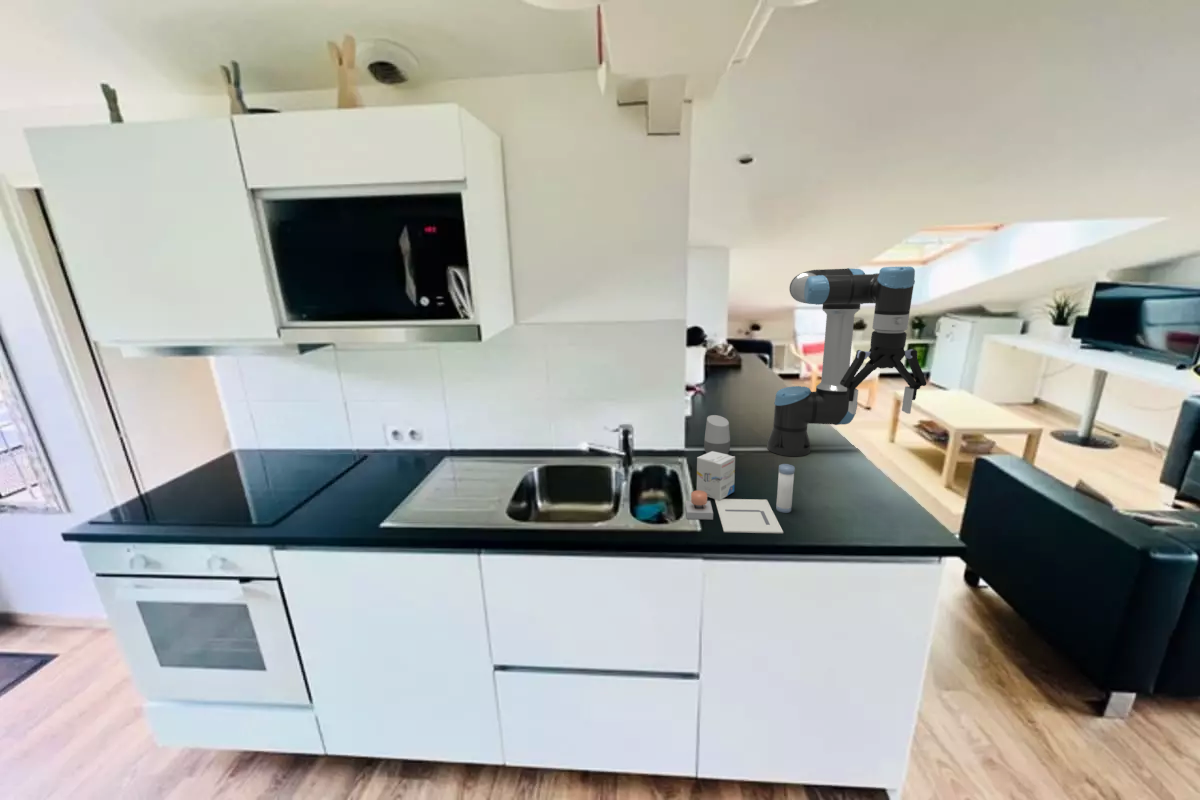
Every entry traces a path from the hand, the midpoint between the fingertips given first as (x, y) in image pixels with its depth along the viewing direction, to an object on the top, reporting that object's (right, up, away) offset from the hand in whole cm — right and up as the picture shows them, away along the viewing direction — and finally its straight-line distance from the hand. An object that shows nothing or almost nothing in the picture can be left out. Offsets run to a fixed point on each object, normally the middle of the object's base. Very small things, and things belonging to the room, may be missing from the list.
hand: (878, 412), depth 126 cm
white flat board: (-32, -29, +8) cm, 44 cm away
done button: (-45, -27, +10) cm, 53 cm away
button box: (-45, -29, +10) cm, 54 cm away
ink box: (-37, -25, +22) cm, 50 cm away
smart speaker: (-30, -17, +53) cm, 63 cm away
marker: (-21, -28, +11) cm, 36 cm away
